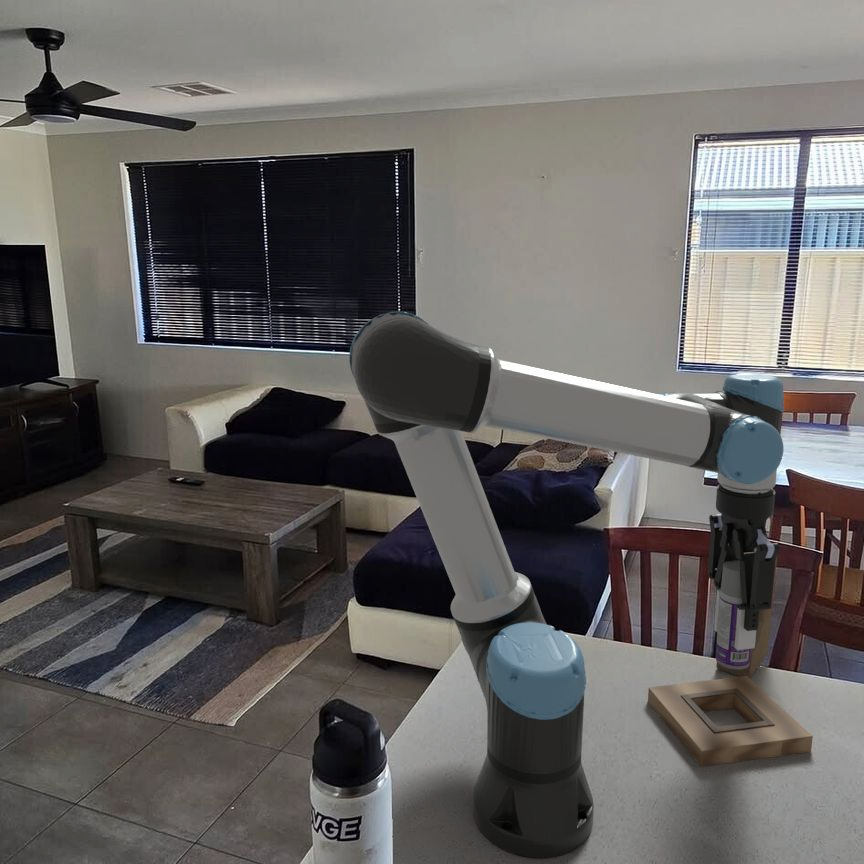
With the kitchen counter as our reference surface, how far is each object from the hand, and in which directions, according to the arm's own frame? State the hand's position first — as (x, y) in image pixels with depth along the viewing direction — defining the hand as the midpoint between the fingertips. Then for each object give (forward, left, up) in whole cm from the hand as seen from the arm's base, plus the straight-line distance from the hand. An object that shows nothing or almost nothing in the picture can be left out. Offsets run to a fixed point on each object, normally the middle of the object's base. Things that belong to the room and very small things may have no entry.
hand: (733, 638), depth 110 cm
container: (0, 0, -4) cm, 4 cm away
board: (0, 0, -14) cm, 14 cm away
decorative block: (+13, +16, -15) cm, 25 cm away
